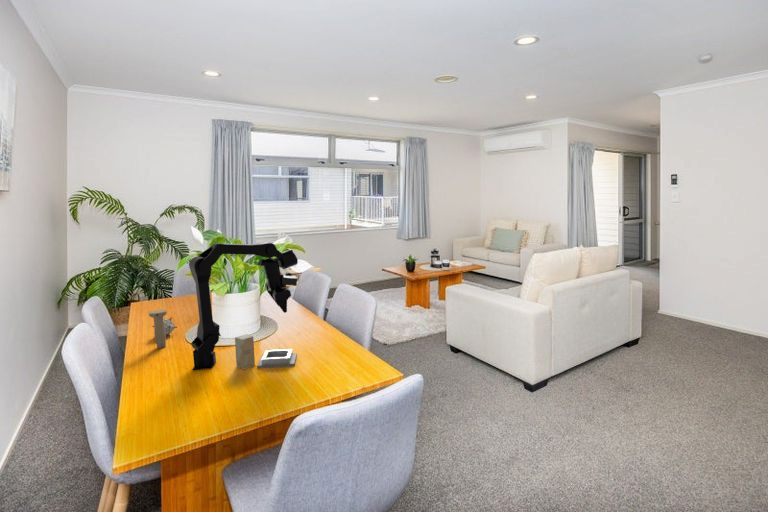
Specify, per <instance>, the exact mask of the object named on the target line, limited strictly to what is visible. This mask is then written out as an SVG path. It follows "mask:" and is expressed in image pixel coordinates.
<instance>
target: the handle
mask: <svg viewBox="0 0 768 512" xmlns="http://www.w3.org/2000/svg"><path fill="white" fill-rule="evenodd" d="M167 313H168V311H167V309H157V310H152V311H149V312H148V316H149V317H150V318H153V323H154V324H153V326H154V327H153V328H154V329H153V330H154V334H153V335H154V340H155V344H156V348H157V349H163V348H165V347H166V342H167V335H166V333H165V327H164V321H163V319H164V316H166V315H167Z"/></svg>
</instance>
